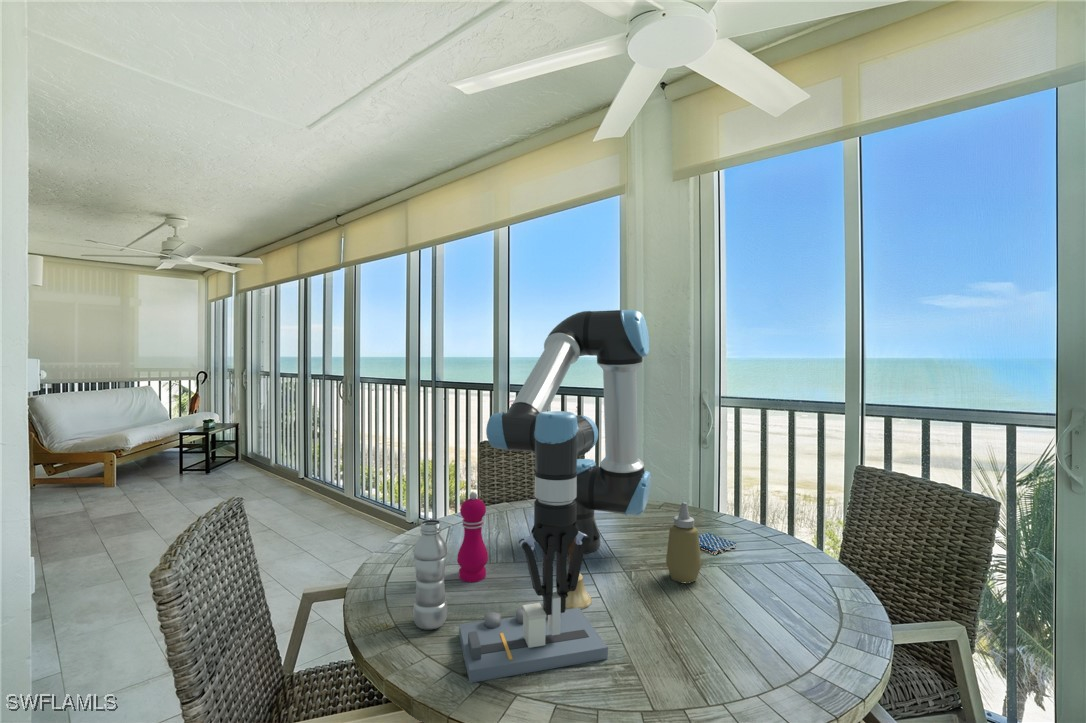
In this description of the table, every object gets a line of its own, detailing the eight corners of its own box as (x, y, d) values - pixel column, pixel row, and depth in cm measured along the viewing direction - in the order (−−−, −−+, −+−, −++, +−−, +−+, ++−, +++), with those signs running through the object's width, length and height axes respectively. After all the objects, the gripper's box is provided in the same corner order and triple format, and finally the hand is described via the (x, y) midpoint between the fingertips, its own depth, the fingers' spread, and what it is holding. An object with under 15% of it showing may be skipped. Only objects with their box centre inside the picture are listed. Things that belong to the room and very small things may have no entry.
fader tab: (539, 632, 90) (539, 602, 90) (545, 645, 86) (546, 614, 86) (522, 634, 89) (522, 605, 89) (528, 648, 85) (528, 617, 85)
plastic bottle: (430, 638, 92) (431, 530, 91) (405, 627, 95) (405, 524, 95) (454, 622, 97) (455, 521, 97) (429, 612, 101) (430, 515, 100)
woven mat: (739, 549, 137) (739, 542, 137) (715, 558, 131) (715, 550, 131) (707, 537, 146) (707, 531, 146) (683, 545, 140) (683, 538, 140)
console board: (579, 617, 100) (579, 597, 100) (607, 658, 86) (608, 635, 86) (459, 635, 93) (459, 614, 93) (469, 683, 79) (469, 658, 79)
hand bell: (547, 594, 109) (548, 522, 109) (581, 589, 112) (582, 518, 112) (562, 613, 101) (562, 535, 101) (598, 606, 104) (599, 530, 104)
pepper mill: (482, 584, 113) (483, 497, 113) (452, 581, 115) (453, 495, 114) (491, 571, 120) (492, 489, 120) (463, 568, 122) (464, 487, 122)
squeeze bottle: (707, 578, 118) (708, 503, 118) (691, 590, 112) (692, 510, 112) (675, 568, 123) (676, 496, 123) (659, 578, 117) (660, 503, 117)
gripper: (581, 491, 94) (580, 615, 94) (514, 495, 90) (513, 625, 90) (597, 502, 87) (595, 636, 87) (525, 508, 83) (523, 648, 83)
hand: (553, 630), depth 89 cm, fingers closed
